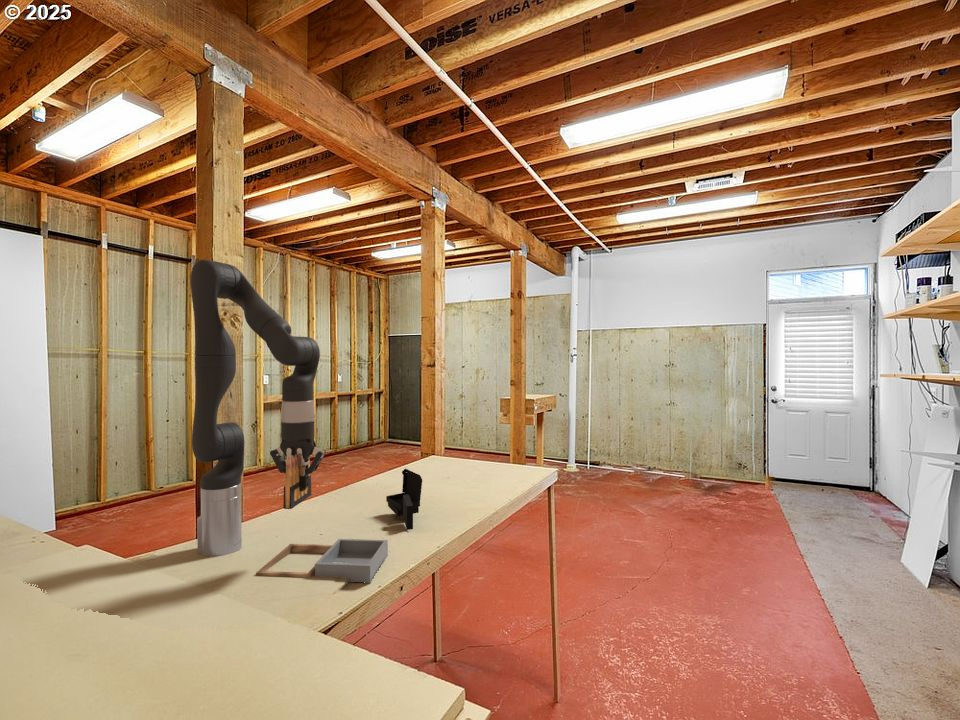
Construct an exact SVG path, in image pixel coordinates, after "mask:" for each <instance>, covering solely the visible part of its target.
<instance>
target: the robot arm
mask: <svg viewBox="0 0 960 720" xmlns="http://www.w3.org/2000/svg"><path fill="white" fill-rule="evenodd" d="M192 266H193V267H192V268H191V272H190V279H189V281H190V293H191V301H192V309H193V317H194V318H193V319H194V320H193V321H194V323H193V324H194V378H195V379H194V380H195V381H194V382H195V384H194V385H195V387H194V391H195V395H194V413H193V423H192V433H191V448H192V453H193V456H194V458H195V459H196V460H197V461H198V462H199V463H203V464H204V463H211V462H215V461H217V463H216V464H215V465H214V466H213V467H212V468H211V469H210V470H208V471H207V472H206V473H204V474H202V476H201V478H200V485H199V487H200V516H198V517H197V518H196V521H197V522H196V523H197V524H196V525H197V526H196V527H197V528H196V529H197V531H196V532H197V535H196V536H197V538H196V539H197V542H196V543H197V555H198V554H200V555H203V556H204V557H205V556H206V557H219V556H220V557H221V556H225V555H230V554H234V553H236V552H238V551H239V550H241V548H242V547H243V546H242V545H243V544H242V543H243V542H242V541H243V537H242V535H243V534H242V531H243V529H242V526H243V525H242V475H243V472H244V469H245V468H244V465H245V464H244V463H245V462H244V461H245V436H244V432H243V429H242V428H241V426H240V425H239V423H236V422H224V423H223V422H222V423H217V420H218V411H219V407H220V405H221V402H222V400H223V398H224V396H225V395H226V393H227V391H228V390H229V388H230V387H231V384H232V382H233V381H234V379H235V376H236V372H237V352H236V347H235V343H234V341H233V340H232V338H231V336H230V334H229V332H228V331H227V329H226V327H225V326H224V324H223V321H222V319H221V317H220V314H219V313H220V312H219V305H218V303H219V302H218V299H224V300H225V299H226V300H230V301H232V302H233V303H235V304H236V305H238V306H239V307H240V308H241V309H242V311H243V315H244V319H245V322H246V323H247V325H248V326H249V327H250V329H251V330H252V331H253V332H254V333H256V334H257V335H258V336H259V338H261V340H263V341H264V343H265V344H266V345H267V347H268V349H269V351H270V352H271V354H272V357H273V358H274V359H275V360H276V361H277V362H279V363H280V364H281V365H284V366H288V367H294V369H293V372H292V374H290V375H288V376H286V377H284V378H283V379H282V385H281V391H282V392H281V409H280V439H281V443H279V446H278V447H277V448H274V449H273V450H270V451H269V455H270V457H271V458H272V461H273V462H274V464H275V466H276V468H277V469H278V472H279V473H281V474H286V463H287V459H288V457H290V459H291V456H292V455H293V456H295V454H296V455H297V458H298V464H299V467H300V475H301V476H300V491H304V490H306V488H307V487H308V485H309V474H310V475H312V474H313V473H314V472H316V471H317V470H318V468H319V466H320V464H321V462H323V461H322V460H323V459H324V457H325V455H326V454H327V453H326V450H325V449H321V448H319V447H318V446H317V444H316V442H315V422H316V421H315V420H316V419H315V418H316V414H315V403H314V381H315V378H316V377H317V371H318V367H319V364H320V363H319V362H320V358H321V354H320V353H321V352H320V351H321V350H320V346H319V344H318V342H317V341H316V340H315V339H314V338H312V337H310V336H294V335H292V326H291V325H290V324H289V323H288V321H287V320H285V319H284V317H282V316H281V315H280V314H279V313H278V312H276V310H274V309H273V308H272V307H271V306H270V305H269V304H268V303H267V302H266V301H265V300H264V299H263V297H261V295H260V294H259V293H258V292H257V290H256V289H255V288H254V287H253V286H252V284H251V282H250V281H249V280H248V279H247V277H246V276H245V275H244V273H243V272H241V270H240V269H238V268H237V266H234V265H232V264H229V263H225V262H220V261H214V260H210V259H199V260H197V261H196V262H195V263H194V264H193V265H192ZM311 455H313V460H312V462H311V461H310V457H311ZM284 456H285V457H284ZM285 458H286V459H285ZM310 462H311V463H310ZM309 464H310V467H309Z"/></svg>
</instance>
